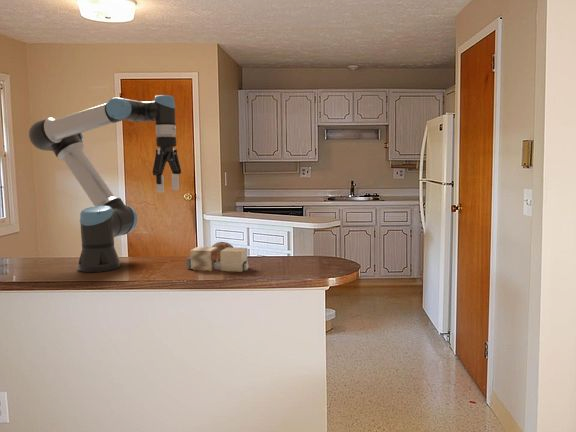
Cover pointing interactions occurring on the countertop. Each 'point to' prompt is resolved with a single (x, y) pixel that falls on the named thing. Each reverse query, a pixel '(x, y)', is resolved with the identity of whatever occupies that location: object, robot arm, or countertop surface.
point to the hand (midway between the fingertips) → (168, 191)
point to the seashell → (221, 247)
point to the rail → (229, 260)
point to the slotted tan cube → (203, 257)
